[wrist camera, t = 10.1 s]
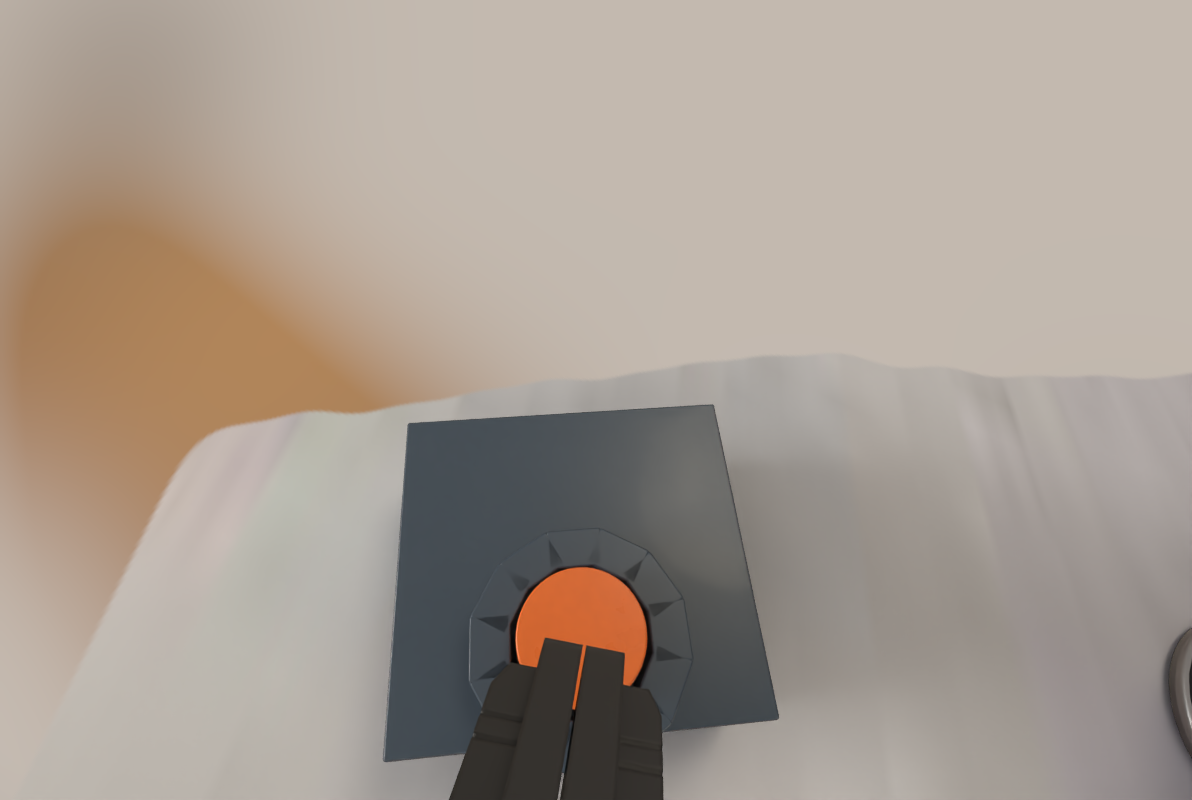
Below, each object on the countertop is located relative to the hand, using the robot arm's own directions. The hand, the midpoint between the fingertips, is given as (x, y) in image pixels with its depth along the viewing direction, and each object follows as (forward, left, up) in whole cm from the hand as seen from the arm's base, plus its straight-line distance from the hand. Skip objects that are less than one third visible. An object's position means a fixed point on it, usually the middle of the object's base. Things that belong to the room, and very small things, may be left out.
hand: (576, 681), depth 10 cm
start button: (0, -1, -7) cm, 7 cm away
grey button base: (0, -4, -14) cm, 15 cm away
